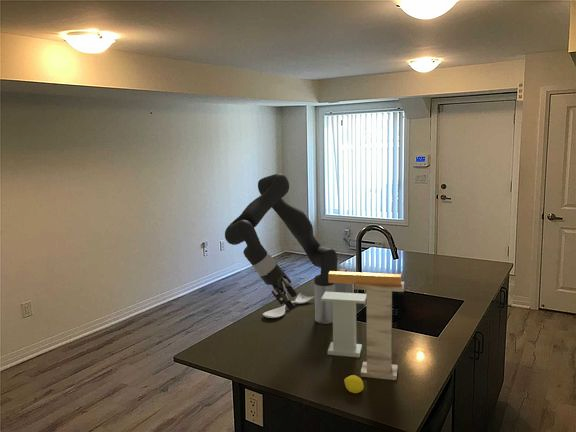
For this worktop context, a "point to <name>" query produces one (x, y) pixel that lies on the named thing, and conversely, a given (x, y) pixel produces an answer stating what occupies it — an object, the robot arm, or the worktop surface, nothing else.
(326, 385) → the worktop surface
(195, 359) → the worktop surface
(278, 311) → the spoon
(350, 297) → the white i-beam column
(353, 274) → the wooden block
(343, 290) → the perfume bottle
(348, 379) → the lemon
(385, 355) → the tall pedestal
